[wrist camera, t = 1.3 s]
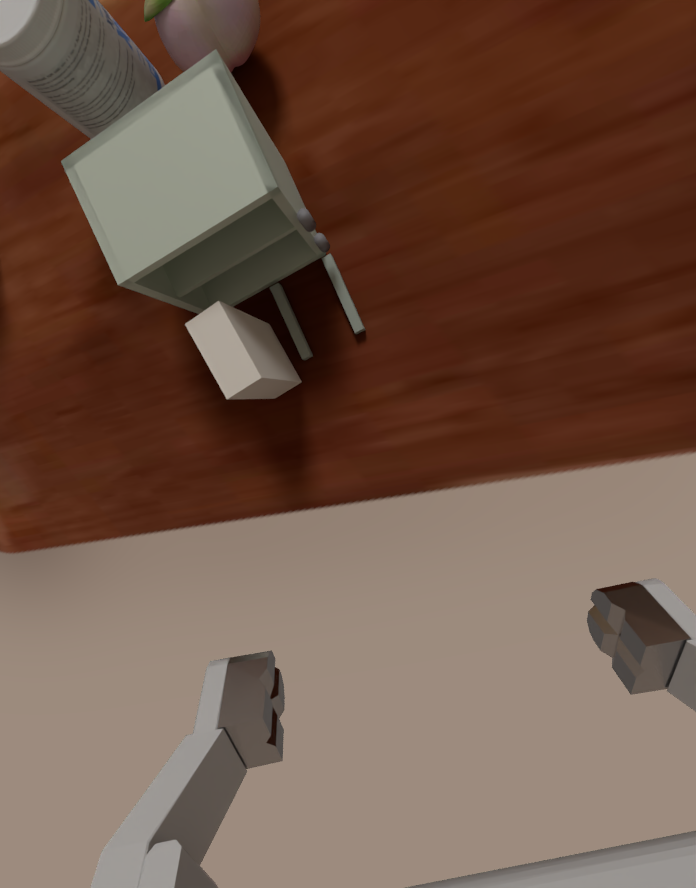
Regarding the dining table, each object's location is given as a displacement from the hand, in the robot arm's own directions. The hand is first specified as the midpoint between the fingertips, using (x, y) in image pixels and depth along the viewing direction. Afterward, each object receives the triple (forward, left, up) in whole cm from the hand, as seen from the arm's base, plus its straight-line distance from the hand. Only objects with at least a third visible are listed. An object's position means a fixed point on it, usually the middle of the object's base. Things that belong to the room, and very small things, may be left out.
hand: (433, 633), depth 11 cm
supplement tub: (-20, -43, -33) cm, 58 cm away
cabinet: (-10, -23, -33) cm, 41 cm away
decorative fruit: (-28, -34, -33) cm, 55 cm away
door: (-2, -19, -33) cm, 38 cm away
